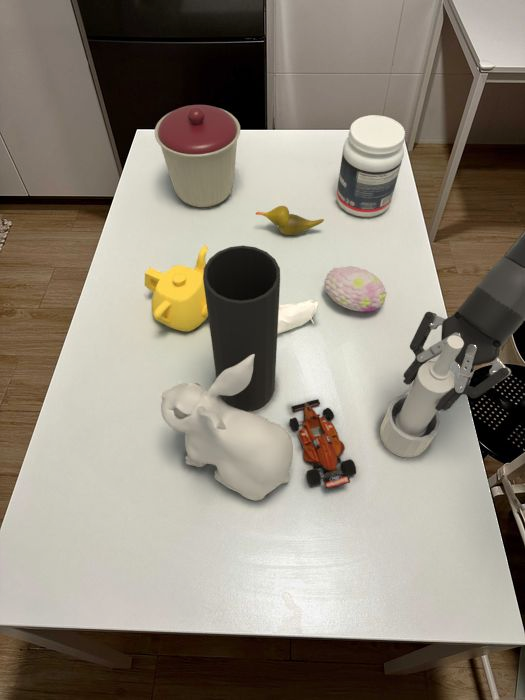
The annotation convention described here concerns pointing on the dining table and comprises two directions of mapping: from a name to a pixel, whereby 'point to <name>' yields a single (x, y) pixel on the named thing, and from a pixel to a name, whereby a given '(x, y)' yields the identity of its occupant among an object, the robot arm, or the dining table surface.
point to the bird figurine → (295, 314)
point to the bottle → (428, 390)
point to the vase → (244, 318)
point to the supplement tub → (370, 165)
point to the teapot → (179, 295)
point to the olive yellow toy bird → (289, 221)
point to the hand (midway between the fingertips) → (422, 395)
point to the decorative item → (355, 288)
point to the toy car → (322, 446)
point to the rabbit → (230, 434)
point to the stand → (403, 442)
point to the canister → (199, 152)
